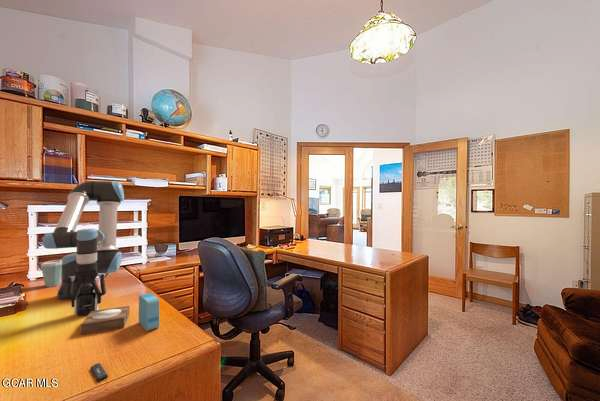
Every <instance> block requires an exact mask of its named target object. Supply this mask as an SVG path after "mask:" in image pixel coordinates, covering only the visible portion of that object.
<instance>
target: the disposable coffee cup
mask: <svg viewBox="0 0 600 401" xmlns="http://www.w3.org/2000/svg"><path fill="white" fill-rule="evenodd" d="M61 264H62V259H53V260H48V261H45V262H43V263H41V264H40V268H41V271H42V272H41V273H42V278H43V282H44V286H45V287H46V288H51V287H53V288H54V287H57V286H60V285H61V281H62V265H61Z"/></svg>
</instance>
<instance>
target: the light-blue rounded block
mask: <svg viewBox="0 0 600 401" xmlns="http://www.w3.org/2000/svg"><path fill="white" fill-rule="evenodd" d="M138 322H139V325H141V327H142V328H143V329H144V330H145V331H146V332H148V331H151V330H154V329H157V328H159V327H160V300H159V298H158V297H157V296H156V295H154V294H153V292H148V293H144V294H140V295H139V296H138Z"/></svg>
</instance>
